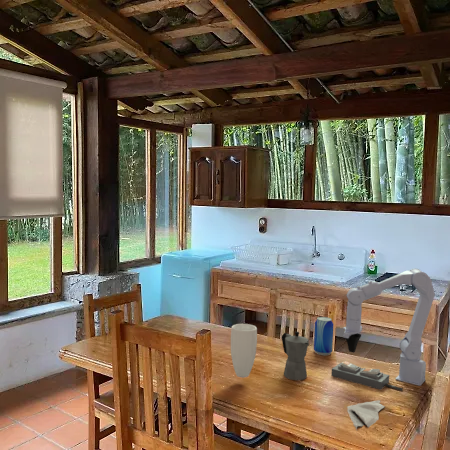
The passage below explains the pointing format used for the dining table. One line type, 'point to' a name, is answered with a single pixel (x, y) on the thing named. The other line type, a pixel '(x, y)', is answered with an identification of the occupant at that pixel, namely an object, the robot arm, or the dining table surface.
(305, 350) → the coffeepot
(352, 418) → the cloth
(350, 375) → the power strip
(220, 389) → the dining table surface
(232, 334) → the cup
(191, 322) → the dining table surface
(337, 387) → the dining table surface
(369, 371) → the rocker inner
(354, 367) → the rocker outer
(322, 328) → the beer can
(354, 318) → the robot arm
